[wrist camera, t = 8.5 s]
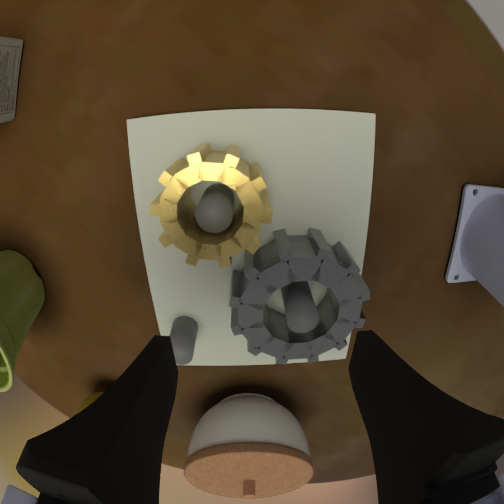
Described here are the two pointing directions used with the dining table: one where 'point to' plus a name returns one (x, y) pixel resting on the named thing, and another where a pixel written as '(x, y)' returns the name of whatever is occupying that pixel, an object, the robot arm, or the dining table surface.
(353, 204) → the gear board
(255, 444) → the lidded jar
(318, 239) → the gear
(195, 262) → the brass gear
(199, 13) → the dining table surface
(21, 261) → the plant pot
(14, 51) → the skincare box
